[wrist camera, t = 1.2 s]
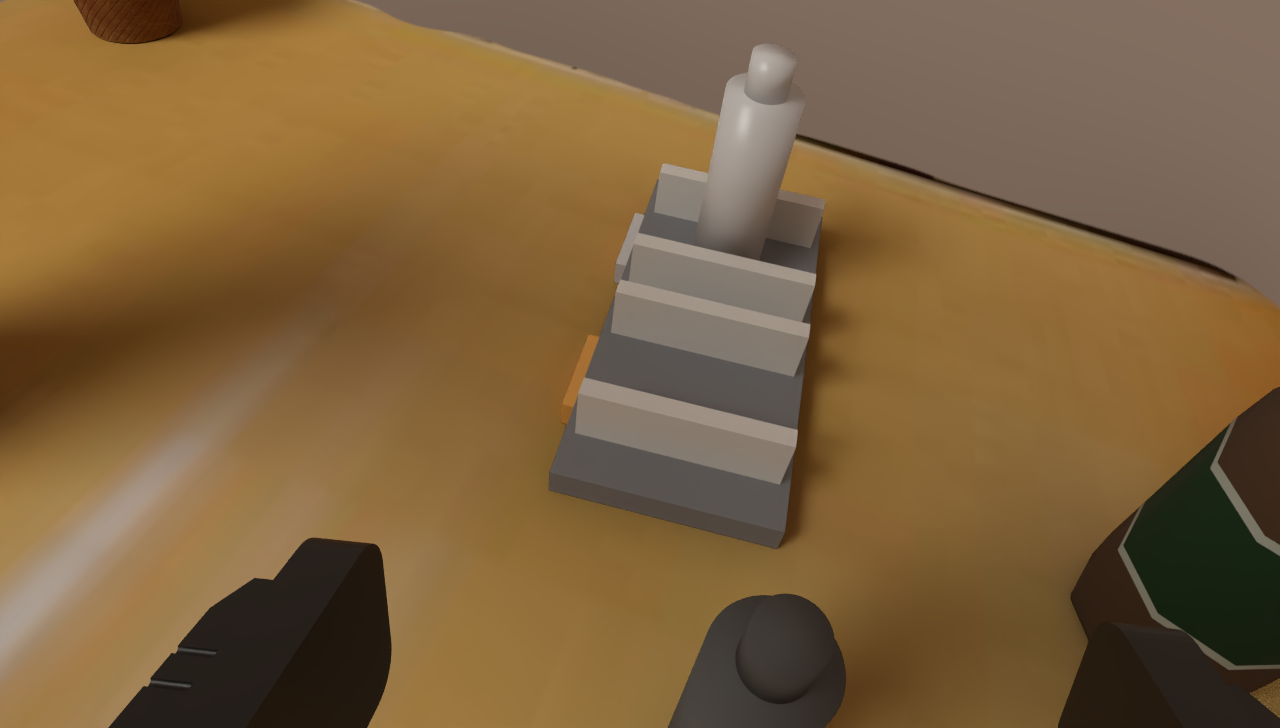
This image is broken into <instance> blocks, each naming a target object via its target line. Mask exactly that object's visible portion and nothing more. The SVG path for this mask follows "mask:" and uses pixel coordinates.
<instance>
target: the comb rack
mask: <svg viewBox="0 0 1280 728" xmlns="http://www.w3.org/2000/svg"><path fill="white" fill-rule="evenodd" d="M707 176H708V173H705V172H700V171H696V170H691V169H687V168H683V167H678V166H674V165H669V164H665V163H663V166H662V168H661V171H660V176H659V179H658V180H657V183H656V186H655V188H654V191H653V194H652V196H651V199H650V202H649V204H648V207H647V210H646V213H645V215H642V214H637V213H635V215H634V218H633V220H632V223H631V225H630V228H629V231H628V233H627V236H626V238H625V241H624V244H623V246H622V249H621V251H620V254H619V257H618V259H617V262H616V267H615V276H614V282H615V283H619V284H618V287H617V290H616V294H615V296H614V299H613V302H612V305H611V307H610V310H609V313H608V315H607V318H606V321H605V324H604V326H603V329H602V332H601V334H600V337H598V336H594V335H590V334H589V335H588V337H587V340H586V343H585V345H584V348H583V350H582V353H581V356H580V358H579V361H578V363H577V366H576V369H575V371H574V374H573V376H572V379H571V382H570V384H569V387H568V389H567V392H566V395H565V397H564V400H563V403H562V411H561V423H565V424H567V426H566V429H565V432H564V434H563V437H562V440H561V443H560V445H559V448H558V451H557V453H556V456H555V459H554V461H553V464H552V467H551V470H550V472H549V490H550V491H554V492H558V493H562V494H566V495H570V496H573V497H577V498H581V499H585V500H589V501H593V502H597V503H601V504H604V505H608V506H612V507H616V508H620V509H624V510H628V511H632V512H636V513H639V514H643V515H647V516H651V517H655V518H659V519H663V520H667V521H670V522H674V523H678V524H682V525H686V526H690V527H694V528H698V529H702V530H705V531H709V532H713V533H717V534H721V535H725V536H729V537H733V538H736V539H740V540H744V541H748V542H752V543H756V544H760V545H764V546H768V547H771V548H775V549H777V548H778V546H779V544H780V542H781V540H782V538H783V536H784V534H785V528H786V519H787V511H788V503H789V494H790V486H791V477H792V469H793V460H794V452H795V449H796V443H797V435H798V430H797V427H798V418H799V410H800V402H801V393H802V385H803V376H804V368H805V360H806V351H807V343H808V339H809V333H810V318H811V309H812V301H813V292H814V288H815V282H816V267H817V259H818V250H819V242H820V233H821V225H822V214H823V211H824V206H825V200H824V199H820V198H816V197H811V196H807V195H802V194H798V193H793V192H789V191H784V190H780V191H779V194H778V198H777V201H776V205H775V208H774V211H773V215H772V218H771V222H770V225H769V229H768V232H767V235H766V239H765V242H764V246H763V249H762V253H761V256H760V260H759V261H757V260H753V259H749V258H745V257H740V256H736V255H732V254H727V253H723V252H719V251H714V250H710V249H706V248H702V247H697V246H693V244H694V240H695V235H696V230H697V225H698V220H699V215H700V210H701V206H702V201H703V196H704V191H705V186H706V181H707Z"/></svg>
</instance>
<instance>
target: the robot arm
mask: <svg viewBox="0 0 1280 728" xmlns="http://www.w3.org/2000/svg"><path fill="white" fill-rule="evenodd" d="M390 663H391V635H390V625H389V616H388V606H387V597H386V587H385V577H384V568H383V559H382V554H381V551H380V549H379V547H378V546H377V545H375V544H371V543H361V542H351V541H342V540H332V539H322V538H309V539H307V540H306V541H304V542H303V543H302V544H301V545H300V546H299V548H298V549H297V550H296V551H295V553H294V554H293V555H292V557H291V558H290V559H289V560H288V562H287V563H286V564H285V566H284V567H283V568H282V569H281V571H280V572H279V573H278V575H277V576H276V577H275V578H274V580H268V579H259V578H254V579H252V580H251V581H249V582H248V583H246V584H245V585H244V586H242V587H241V588H239V589H238V590H236V591H235V592H233V593H232V594H230V595H229V596H227V597H226V598H224V599H223V600H221V601H220V602H218V603H217V604H215V605H214V606H212V607H211V608H209V610H208V611H207V612H206V613H205V614H204V616H203V617H202V618H201V619H200V620H199V621H198V623H197V624H196V625H195V626H194V627H193V629H192V630H191V631H190V632H189V633H188V634H187V636H186V637H185V638H184V639H183V640H182V641H181V643H180V644H179V645H178V650H177V652H176V654H174V653H171V654H170V656H169V657H168V658H167V659H166V660H165V662H164V663H163V664H162V665H161V666H160V667H159V669H158V670H157V671H156V672H155V673H154V675H153V676H152V677H151V682H150V684H149V686H148V687H146V686H143V687H142V689H141V690H140V691H139V692H138V693H137V695H136V696H135V697H134V698H133V699H132V700H131V702H130V703H129V704H128V705H127V706H126V708H125V709H124V710H123V711H122V712H121V713H120V715H119V716H118V717H117V718H116V719H115V720H114V722H113V723H112V724H111V725H110V726H109V728H367V727H368V725H369V723H370V721H371V719H372V717H373V715H374V713H375V711H376V709H377V706H378V704H379V702H380V700H381V698H382V695H383V692H384V689H385V686H386V683H387V679H388V674H389V669H390ZM1058 728H1280V718H1278V717H1277V716H1276V715H1275V714H1274V713H1272V712H1271V711H1270V710H1269V709H1268V708H1266V707H1265V706H1264V705H1263V704H1261V703H1260V702H1259V701H1258V700H1257V699H1255V698H1254V697H1253V696H1252V695H1250V694H1249V693H1248V692H1247V691H1246V690H1244V689H1243V688H1242V687H1241V686H1232V685H1227V684H1226V682H1225V681H1224V680H1223V678H1222V677H1221V676H1220V674H1219V673H1218V672H1217V670H1216V669H1215V667H1214V666H1213V665H1212V663H1211V662H1210V661H1209V659H1208V658H1207V657H1206V655H1205V654H1204V652H1203V651H1202V650H1201V648H1200V647H1199V646H1198V644H1197V643H1196V642H1195V641H1194V639H1193V638H1192V637H1191V636H1190V635H1188V634H1187V633H1186V632H1184V631H1182V630H1179V629H1172V628H1162V627H1153V626H1143V625H1133V624H1124V623H1114V622H1103V623H1101V624H1099V625H1098V626H1097V627H1096V628H1095V630H1094V631H1093V633H1092V635H1091V637H1090V640H1089V642H1088V645H1087V648H1086V651H1085V653H1084V656H1083V659H1082V661H1081V664H1080V667H1079V669H1078V672H1077V675H1076V677H1075V680H1074V683H1073V685H1072V688H1071V691H1070V694H1069V696H1068V699H1067V702H1066V704H1065V707H1064V710H1063V712H1062V715H1061V718H1060V721H1059V724H1058Z"/></svg>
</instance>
